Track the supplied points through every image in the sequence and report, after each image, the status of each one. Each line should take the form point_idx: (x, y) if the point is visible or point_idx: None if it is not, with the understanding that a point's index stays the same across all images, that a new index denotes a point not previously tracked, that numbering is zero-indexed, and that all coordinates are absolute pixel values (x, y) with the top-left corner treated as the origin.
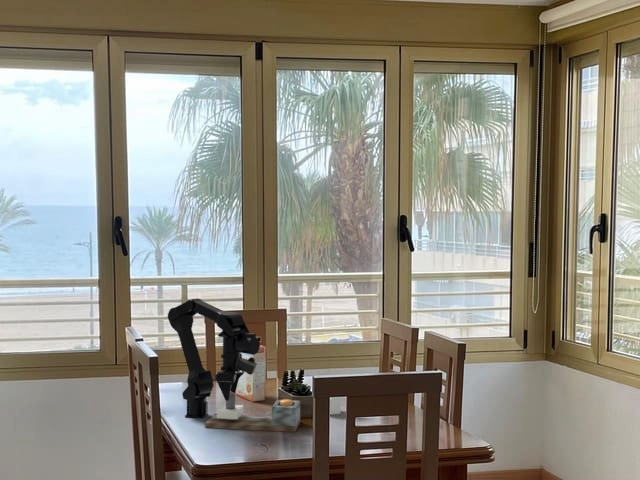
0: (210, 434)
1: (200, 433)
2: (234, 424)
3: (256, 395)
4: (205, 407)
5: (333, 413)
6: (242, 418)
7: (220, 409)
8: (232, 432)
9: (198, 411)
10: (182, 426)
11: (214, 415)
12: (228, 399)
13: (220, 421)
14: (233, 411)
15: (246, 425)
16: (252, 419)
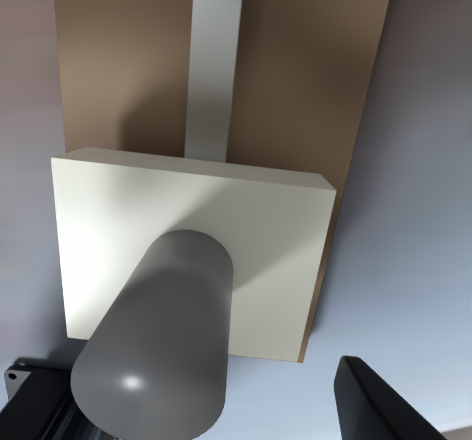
0: (442, 301)
1: (413, 350)
2: (344, 185)
3: None
4: (54, 415)
5: None
6: (227, 138)
7: (242, 342)
8: (418, 181)
9: (89, 424)
10: (277, 434)
11: None
12: (369, 367)
13: None
14: (312, 232)
15: (365, 86)
16: (238, 41)
